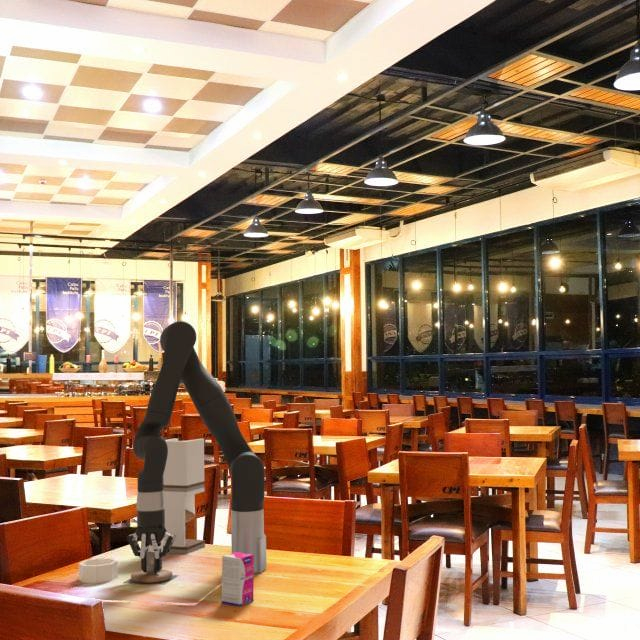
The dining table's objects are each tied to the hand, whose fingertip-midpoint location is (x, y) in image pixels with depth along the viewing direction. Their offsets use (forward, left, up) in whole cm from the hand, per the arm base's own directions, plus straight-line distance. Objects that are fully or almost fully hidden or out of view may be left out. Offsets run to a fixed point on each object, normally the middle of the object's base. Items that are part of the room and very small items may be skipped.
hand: (151, 571), depth 225 cm
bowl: (+15, +1, -3) cm, 15 cm away
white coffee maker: (+7, -41, -3) cm, 42 cm away
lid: (0, 0, -2) cm, 2 cm away
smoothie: (+7, -19, -3) cm, 21 cm away
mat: (0, 0, -3) cm, 3 cm away
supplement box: (-30, +17, -3) cm, 34 cm away
